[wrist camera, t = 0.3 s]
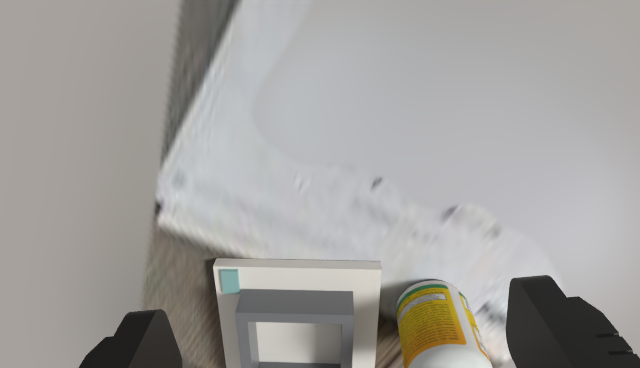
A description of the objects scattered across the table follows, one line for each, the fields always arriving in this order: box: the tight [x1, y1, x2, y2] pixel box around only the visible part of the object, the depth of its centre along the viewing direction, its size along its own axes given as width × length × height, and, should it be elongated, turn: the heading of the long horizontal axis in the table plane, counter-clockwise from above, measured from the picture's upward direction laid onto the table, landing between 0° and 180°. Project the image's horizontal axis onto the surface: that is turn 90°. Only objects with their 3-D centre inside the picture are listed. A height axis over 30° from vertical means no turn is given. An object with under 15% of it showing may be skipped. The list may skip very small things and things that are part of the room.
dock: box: [213, 258, 382, 368], centre depth 33 cm, size 12×12×4 cm
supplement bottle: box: [396, 280, 492, 368], centre depth 29 cm, size 5×5×10 cm
